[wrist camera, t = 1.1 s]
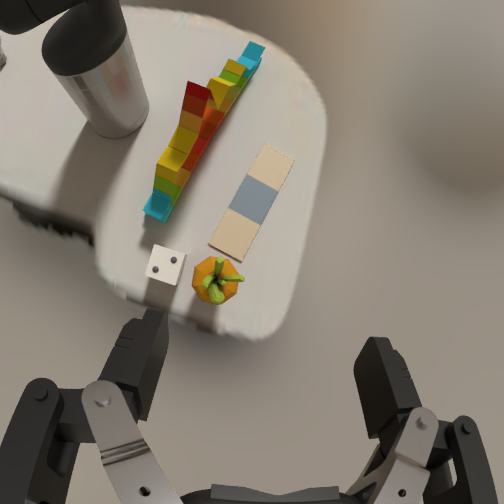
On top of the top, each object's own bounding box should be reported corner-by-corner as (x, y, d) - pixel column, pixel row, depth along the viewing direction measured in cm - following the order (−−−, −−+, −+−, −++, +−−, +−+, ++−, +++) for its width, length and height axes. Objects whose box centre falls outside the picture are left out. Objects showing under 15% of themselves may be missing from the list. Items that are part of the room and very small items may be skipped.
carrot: (207, 250, 40) (208, 243, 25) (238, 270, 40) (258, 274, 25) (187, 281, 39) (177, 293, 24) (218, 301, 40) (227, 324, 25)
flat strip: (208, 243, 40) (208, 243, 40) (264, 144, 41) (264, 143, 41) (241, 261, 40) (241, 261, 40) (294, 161, 42) (294, 160, 42)
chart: (242, 56, 42) (257, -6, 27) (259, 64, 42) (280, 3, 27) (145, 213, 39) (113, 187, 24) (165, 223, 39) (143, 202, 24)
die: (150, 274, 39) (144, 275, 34) (159, 245, 39) (154, 243, 35) (178, 283, 39) (175, 285, 35) (187, 254, 39) (185, 254, 35)
